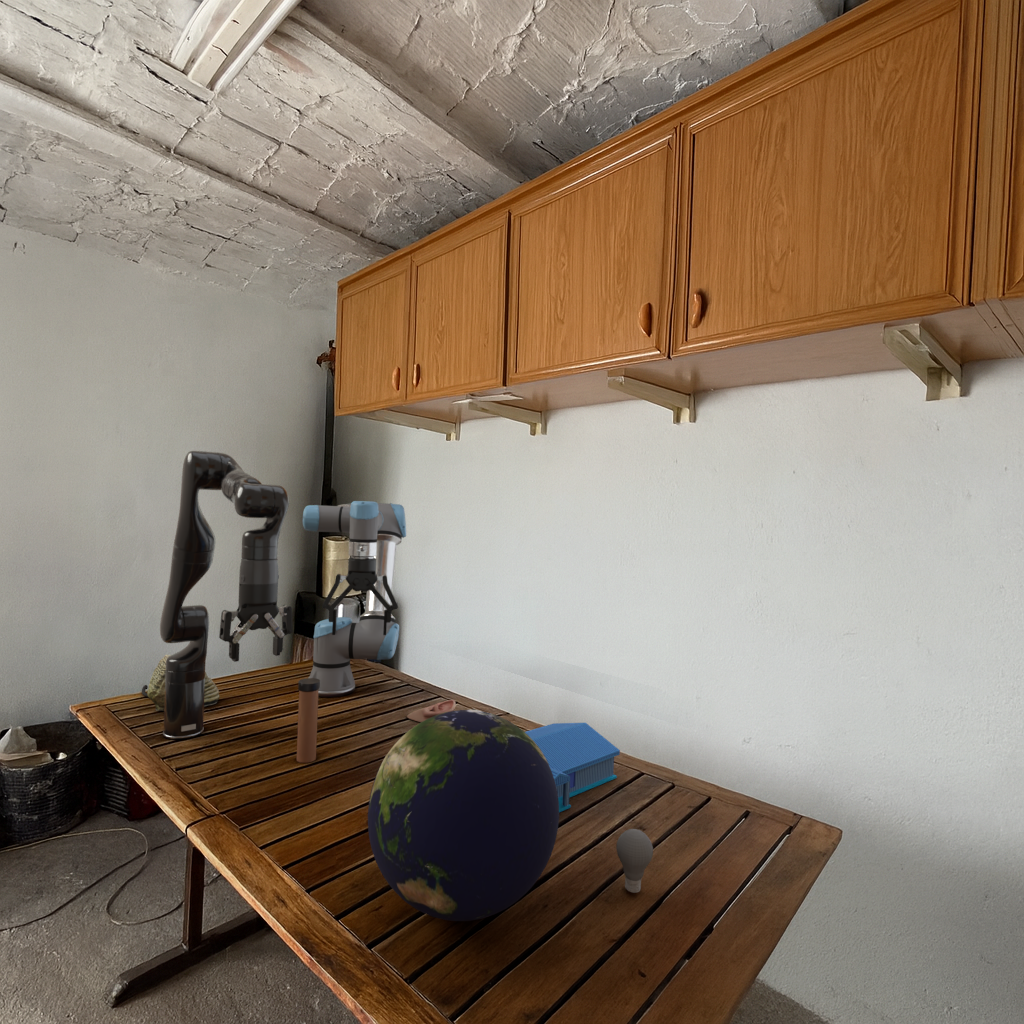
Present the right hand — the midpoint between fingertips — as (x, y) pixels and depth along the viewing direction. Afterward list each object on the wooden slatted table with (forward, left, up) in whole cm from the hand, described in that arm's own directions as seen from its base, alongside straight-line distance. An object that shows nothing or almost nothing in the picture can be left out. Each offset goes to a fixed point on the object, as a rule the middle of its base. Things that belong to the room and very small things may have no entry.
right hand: (359, 634), depth 174 cm
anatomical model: (-7, +21, -26) cm, 34 cm away
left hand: (+40, -19, +4) cm, 44 cm away
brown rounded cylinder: (+21, -10, -26) cm, 35 cm away
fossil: (-19, -50, -26) cm, 60 cm away
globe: (+79, +21, -26) cm, 86 cm away
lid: (+21, -10, -7) cm, 24 cm away
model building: (+40, +41, -26) cm, 63 cm away
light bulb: (+79, +50, -26) cm, 97 cm away
